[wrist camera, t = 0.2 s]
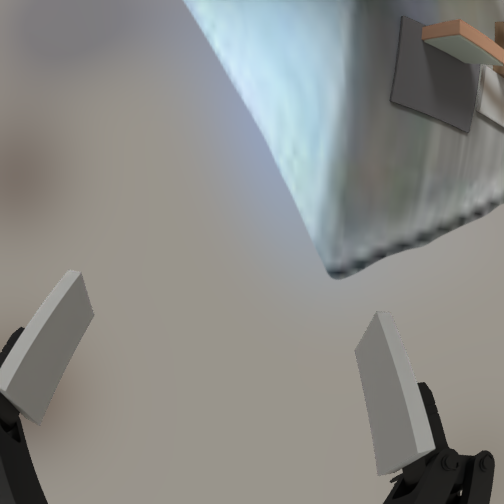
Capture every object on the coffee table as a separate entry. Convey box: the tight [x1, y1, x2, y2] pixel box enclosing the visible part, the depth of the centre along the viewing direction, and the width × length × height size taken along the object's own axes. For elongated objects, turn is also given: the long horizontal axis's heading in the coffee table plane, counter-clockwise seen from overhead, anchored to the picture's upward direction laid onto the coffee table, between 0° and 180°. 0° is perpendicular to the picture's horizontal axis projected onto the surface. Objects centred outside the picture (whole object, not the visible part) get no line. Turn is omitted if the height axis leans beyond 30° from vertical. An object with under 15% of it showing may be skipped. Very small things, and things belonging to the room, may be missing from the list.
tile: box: [421, 19, 504, 66], centre depth 19 cm, size 2×8×9 cm, turn 83°
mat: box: [390, 16, 480, 133], centre depth 26 cm, size 13×14×1 cm
